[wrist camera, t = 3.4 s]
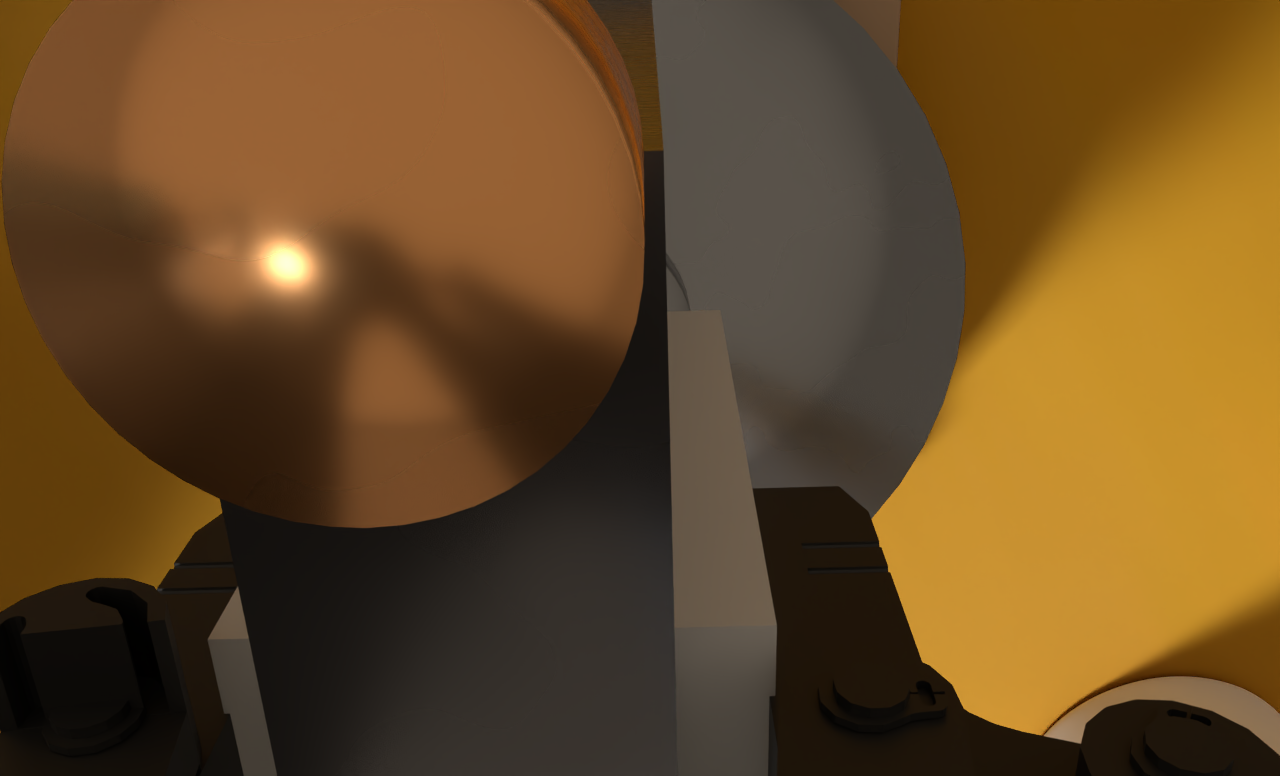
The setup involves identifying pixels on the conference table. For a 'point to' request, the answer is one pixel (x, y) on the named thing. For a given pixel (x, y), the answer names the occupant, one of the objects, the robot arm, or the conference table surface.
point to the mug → (1183, 689)
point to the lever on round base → (478, 325)
